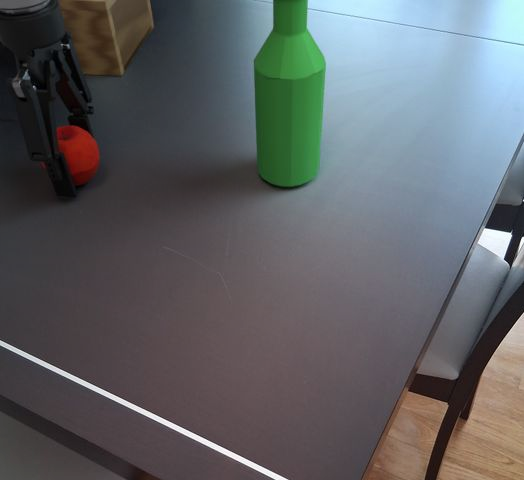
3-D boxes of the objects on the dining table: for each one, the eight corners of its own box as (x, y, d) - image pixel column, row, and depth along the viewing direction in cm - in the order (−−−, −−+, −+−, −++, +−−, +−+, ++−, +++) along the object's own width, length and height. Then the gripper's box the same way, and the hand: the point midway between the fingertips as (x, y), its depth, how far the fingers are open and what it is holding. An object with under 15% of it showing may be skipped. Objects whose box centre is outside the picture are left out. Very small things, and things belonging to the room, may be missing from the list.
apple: (70, 157, 84) (54, 110, 78) (116, 168, 82) (104, 120, 76) (38, 188, 79) (20, 141, 74) (87, 200, 78) (72, 152, 72)
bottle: (253, 189, 79) (244, -12, 59) (261, 153, 84) (255, -42, 64) (317, 192, 78) (329, -10, 58) (320, 156, 83) (333, -41, 64)
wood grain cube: (36, 71, 102) (11, -3, 92) (77, 22, 114) (59, -47, 104) (121, 76, 100) (105, 1, 90) (154, 26, 112) (142, -44, 102)
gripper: (13, 45, 56) (77, 226, 74) (88, -34, 68) (127, 137, 86) (-57, 41, 57) (23, 221, 75) (29, -37, 69) (80, 133, 87)
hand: (78, 176), depth 81 cm, fingers closed on apple, 8 cm apart
